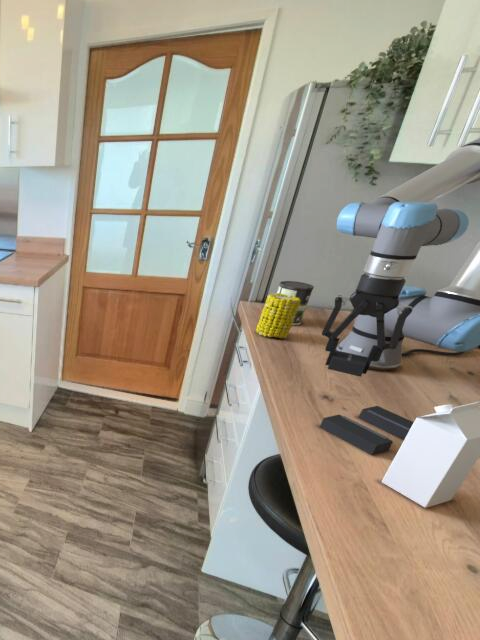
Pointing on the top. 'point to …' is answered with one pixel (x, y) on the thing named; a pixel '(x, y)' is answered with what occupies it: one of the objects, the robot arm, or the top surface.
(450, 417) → the milk carton
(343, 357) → the loose pad
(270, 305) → the food
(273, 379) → the top surface
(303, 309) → the coffee can
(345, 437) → the pad row
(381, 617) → the top surface
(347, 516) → the top surface
